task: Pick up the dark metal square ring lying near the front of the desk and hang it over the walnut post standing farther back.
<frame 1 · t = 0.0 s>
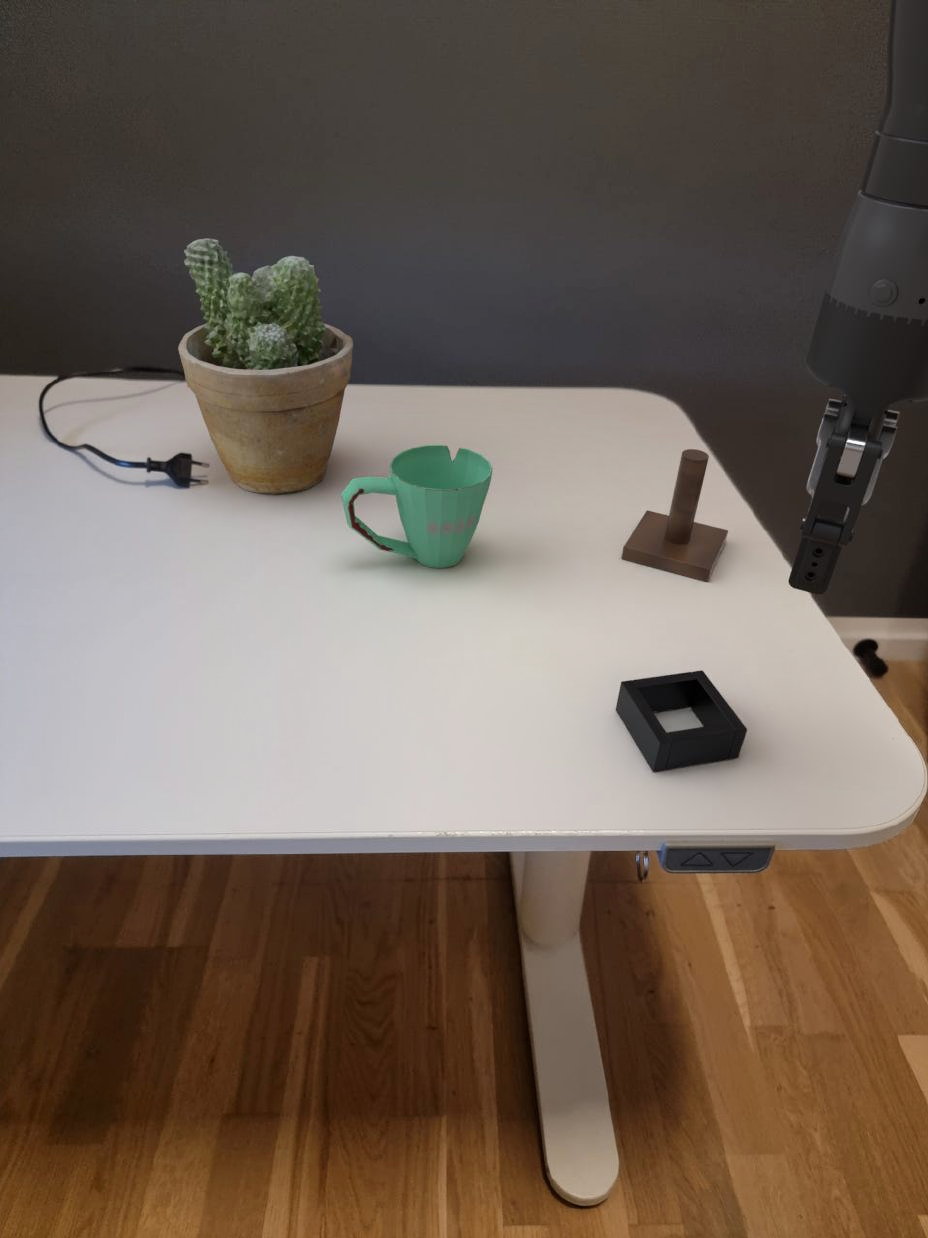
hand: (814, 556, 55), 19 cm above the table, tool pointing down, fingers open, 8 cm apart
ring: (675, 733, 68), on the table
post: (674, 550, 91), on the table
potted plant: (278, 474, 102), on the table
mug: (415, 560, 88), on the table
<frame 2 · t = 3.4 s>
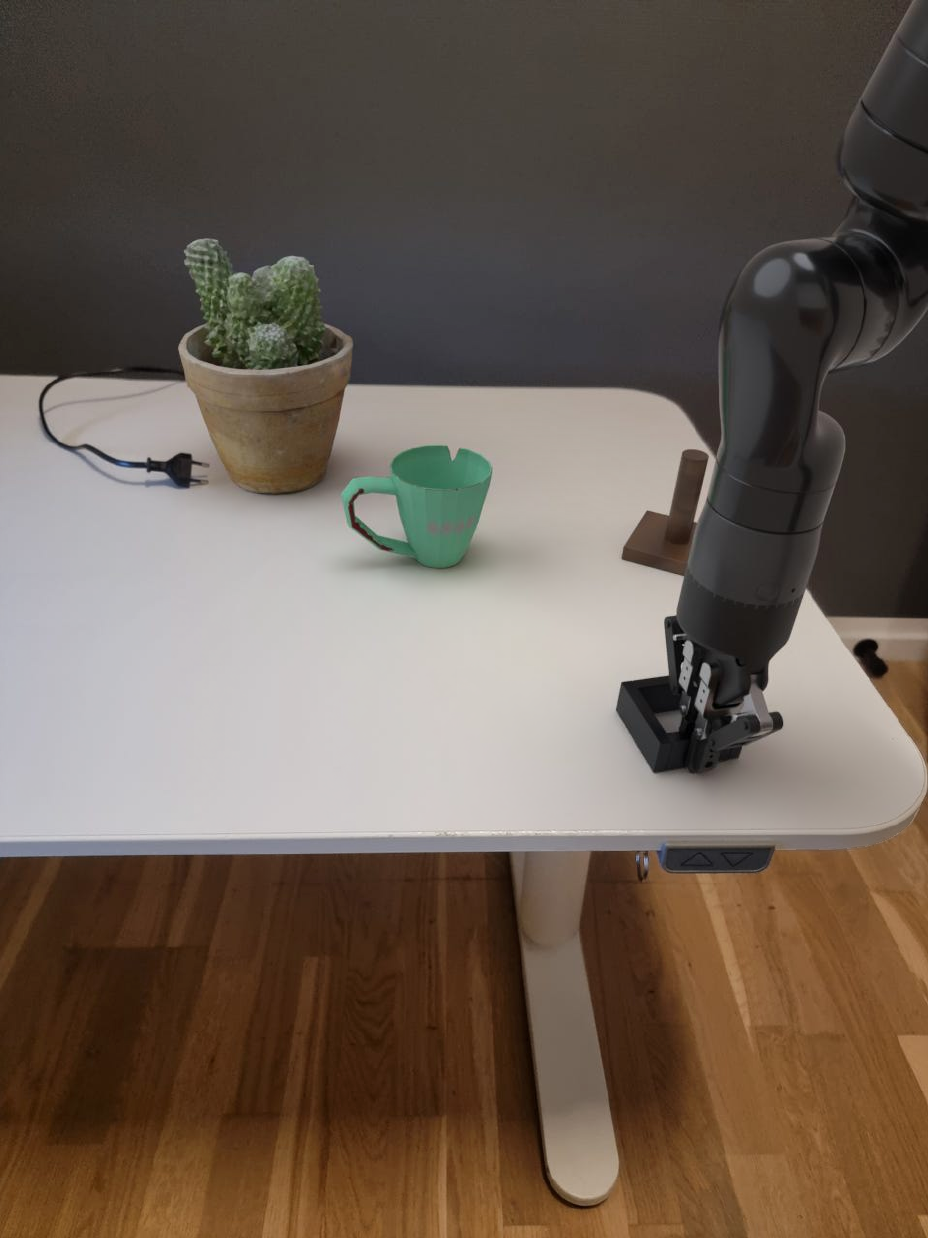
hand: (693, 760, 66), 0 cm above the table, tool pointing down, fingers closed on ring
ring: (675, 733, 68), on the table, touching gripper
everything else where it was.
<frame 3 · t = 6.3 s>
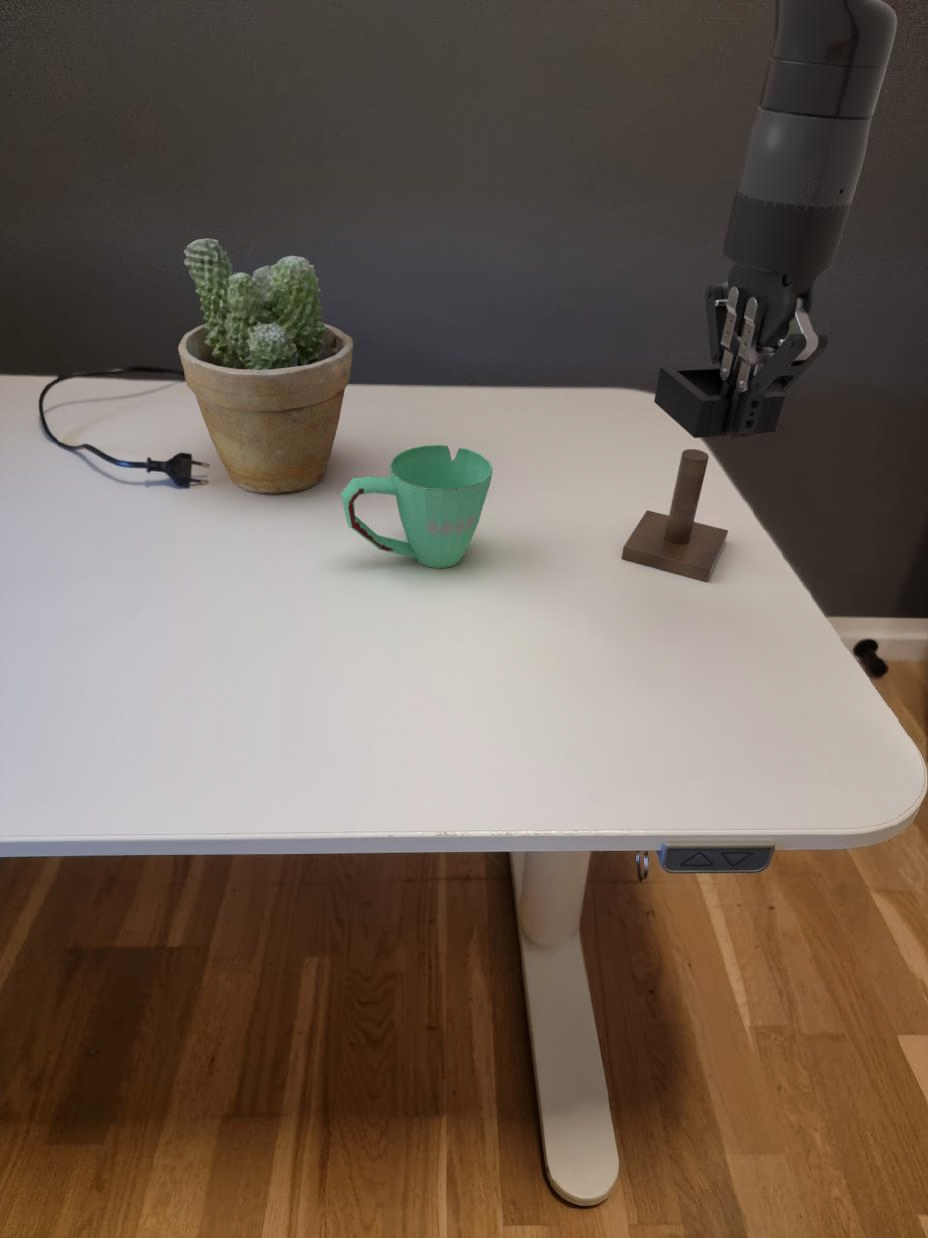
hand: (732, 430, 68), 20 cm above the table, tool pointing down, fingers closed on ring
ring: (712, 416, 70), point 20 cm above the table, touching gripper
everything else where it was.
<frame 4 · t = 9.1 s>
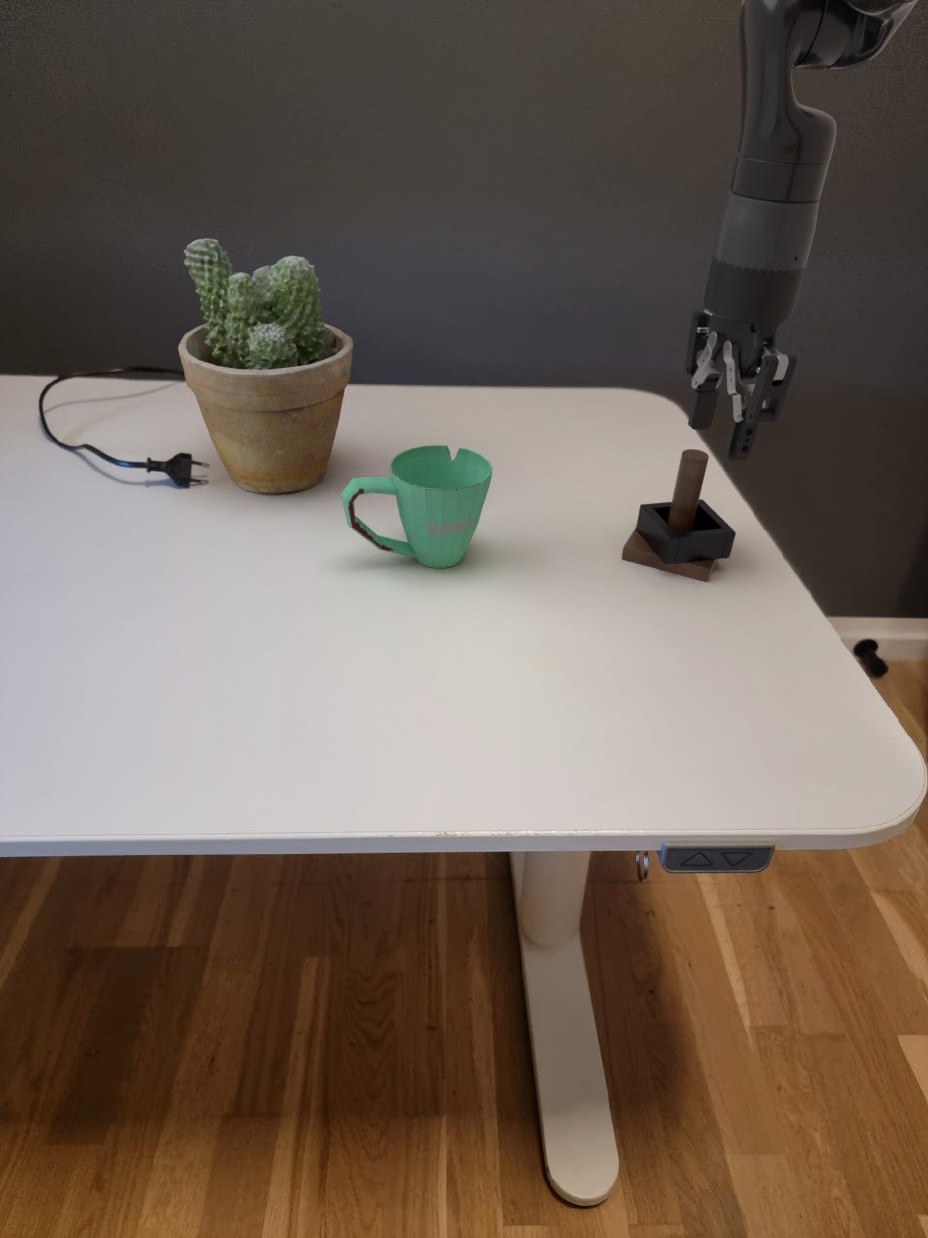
hand: (716, 442, 81), 14 cm above the table, tool pointing down, fingers open, 6 cm apart
ring: (681, 543, 90), point 1 cm above the table, touching post
everything else where it was.
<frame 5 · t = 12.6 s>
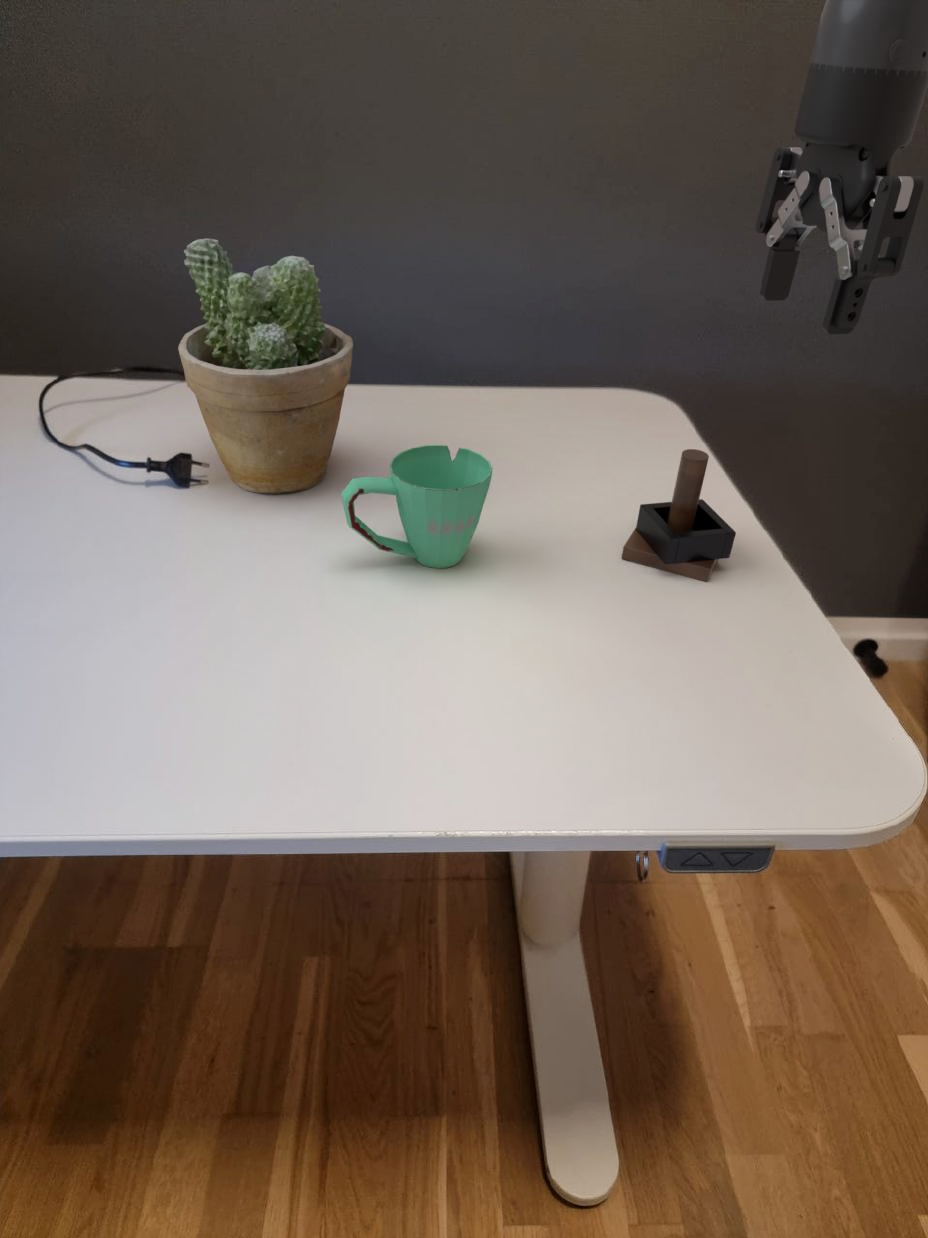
hand: (803, 314, 65), 28 cm above the table, tool pointing down, fingers open, 8 cm apart
nothing on the table moved.
at the end: ring 1.1 cm off-centre on the post, point 1.5 cm above the post's base; the gripper is holding nothing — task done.
